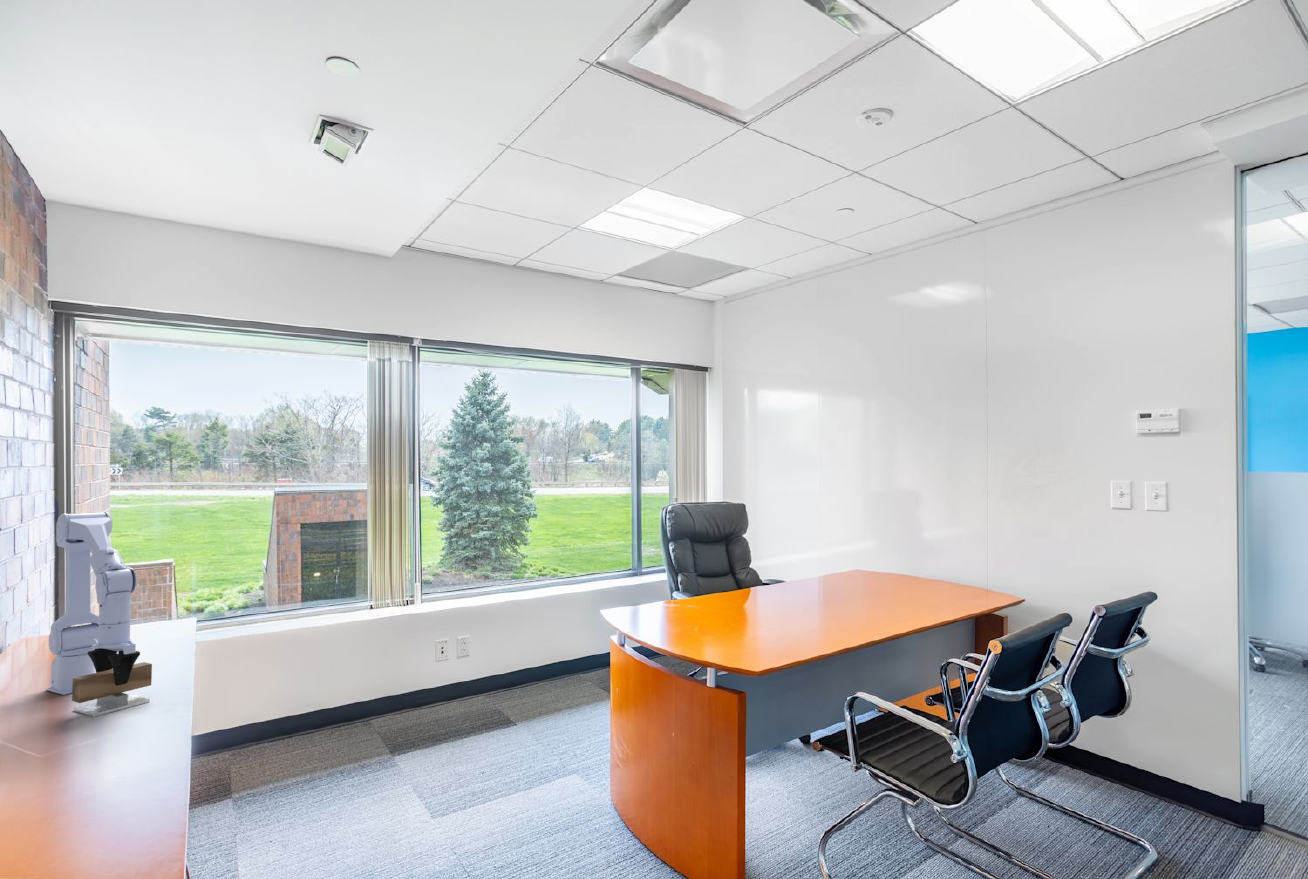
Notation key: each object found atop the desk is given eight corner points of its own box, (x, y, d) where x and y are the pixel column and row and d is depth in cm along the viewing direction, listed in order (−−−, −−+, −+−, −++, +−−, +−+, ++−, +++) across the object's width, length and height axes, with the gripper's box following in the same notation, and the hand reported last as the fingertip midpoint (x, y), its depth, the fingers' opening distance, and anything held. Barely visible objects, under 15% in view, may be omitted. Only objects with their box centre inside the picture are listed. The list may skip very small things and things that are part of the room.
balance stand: (73, 710, 152) (73, 697, 152) (129, 696, 161) (129, 683, 162) (93, 716, 148) (93, 702, 148) (149, 701, 157) (150, 688, 158)
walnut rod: (71, 700, 149) (72, 677, 150) (143, 683, 162) (143, 662, 162) (79, 703, 148) (80, 680, 148) (151, 685, 160) (151, 663, 160)
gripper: (78, 622, 155) (76, 682, 155) (110, 628, 149) (108, 691, 148) (113, 617, 162) (112, 674, 161) (146, 622, 155) (144, 682, 154)
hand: (112, 682), depth 155 cm, fingers open, 7 cm apart
